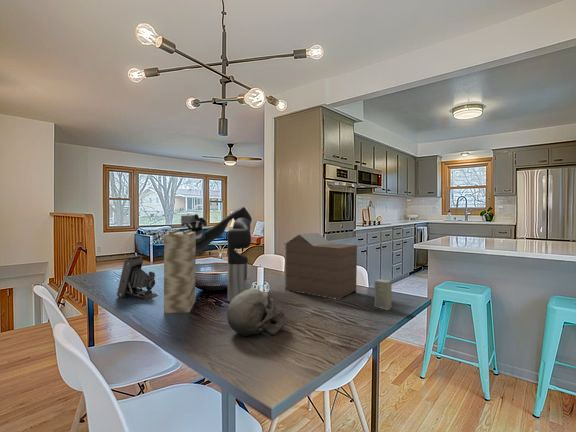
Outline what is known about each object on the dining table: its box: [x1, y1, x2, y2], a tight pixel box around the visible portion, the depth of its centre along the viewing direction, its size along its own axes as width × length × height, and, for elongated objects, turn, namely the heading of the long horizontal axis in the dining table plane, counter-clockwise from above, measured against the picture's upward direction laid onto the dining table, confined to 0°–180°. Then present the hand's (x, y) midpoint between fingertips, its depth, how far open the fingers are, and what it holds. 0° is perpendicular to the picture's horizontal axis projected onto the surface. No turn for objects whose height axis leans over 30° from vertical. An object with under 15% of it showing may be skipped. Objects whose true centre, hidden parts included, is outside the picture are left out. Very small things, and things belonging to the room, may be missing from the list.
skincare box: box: [373, 278, 393, 309], centre depth 139 cm, size 6×4×12 cm
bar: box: [180, 214, 196, 224], centre depth 159 cm, size 4×26×4 cm, turn 8°
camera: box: [116, 254, 159, 301], centre depth 153 cm, size 11×17×20 cm, turn 79°
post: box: [163, 229, 197, 314], centre depth 137 cm, size 10×16×33 cm, turn 8°
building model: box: [283, 232, 358, 300], centre depth 168 cm, size 19×34×30 cm, turn 54°
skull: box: [226, 287, 288, 337], centre depth 109 cm, size 13×16×20 cm
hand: (191, 215), depth 166 cm, fingers closed on bar, 3 cm apart
